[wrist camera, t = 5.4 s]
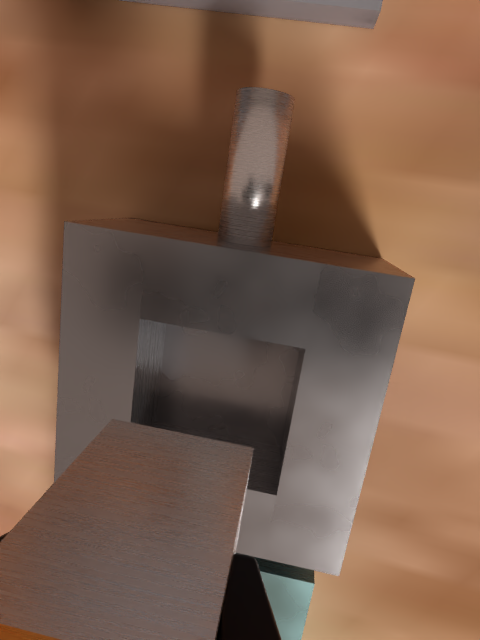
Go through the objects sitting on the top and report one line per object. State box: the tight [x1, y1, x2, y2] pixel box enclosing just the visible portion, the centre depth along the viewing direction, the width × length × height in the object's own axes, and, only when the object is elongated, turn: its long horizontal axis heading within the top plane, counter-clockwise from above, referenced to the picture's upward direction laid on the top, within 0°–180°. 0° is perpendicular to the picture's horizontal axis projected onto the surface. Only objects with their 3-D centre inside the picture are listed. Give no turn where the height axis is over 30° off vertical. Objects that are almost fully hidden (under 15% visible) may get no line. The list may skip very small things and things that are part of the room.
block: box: [0, 419, 254, 640], centre depth 6 cm, size 3×3×6 cm
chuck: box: [54, 87, 415, 640], centre depth 17 cm, size 10×25×5 cm, turn 172°
